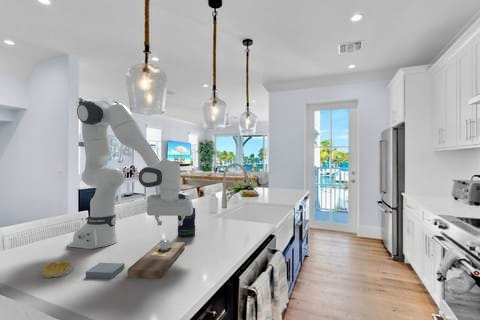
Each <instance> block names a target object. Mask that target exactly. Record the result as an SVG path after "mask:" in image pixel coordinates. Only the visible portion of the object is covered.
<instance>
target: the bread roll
mask: <svg viewBox="0 0 480 320" xmlns="http://www.w3.org/2000/svg"><path fill="white" fill-rule="evenodd" d="M72 270H73V265H72V264H71V262H68V261H60V262H51V263H49V264H47V265H45V267H43V268H42V270H41V276H42V277H43V278H46V279H50V278H59V277H63V276H66V275H68V274H69V273H71V271H72Z"/></svg>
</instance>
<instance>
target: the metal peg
mask: <svg viewBox="0 0 480 320" xmlns="http://www.w3.org/2000/svg"><path fill="white" fill-rule="evenodd" d="M159 242H160V252H169V242H170V240H169V239H166V238H165V239H164V238H163V239H161V240H160V241H159Z"/></svg>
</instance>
